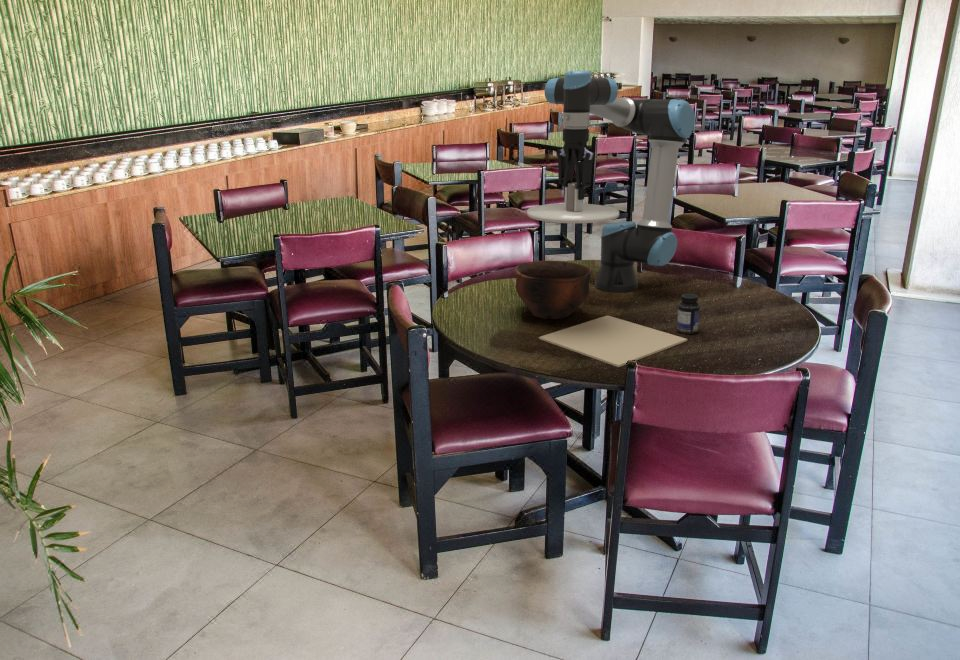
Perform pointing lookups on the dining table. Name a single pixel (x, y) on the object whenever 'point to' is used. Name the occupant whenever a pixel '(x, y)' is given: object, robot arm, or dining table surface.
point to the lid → (572, 211)
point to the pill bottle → (688, 314)
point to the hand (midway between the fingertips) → (573, 209)
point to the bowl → (552, 287)
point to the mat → (613, 340)
